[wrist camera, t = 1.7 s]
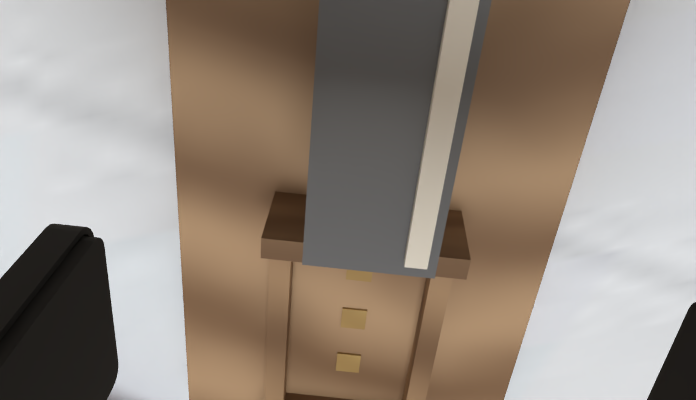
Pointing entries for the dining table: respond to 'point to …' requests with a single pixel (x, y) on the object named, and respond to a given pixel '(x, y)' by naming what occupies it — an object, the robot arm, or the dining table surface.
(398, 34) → the dark grey box
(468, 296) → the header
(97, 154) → the dining table surface
